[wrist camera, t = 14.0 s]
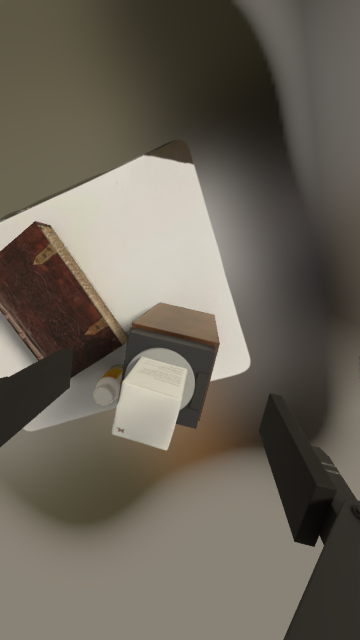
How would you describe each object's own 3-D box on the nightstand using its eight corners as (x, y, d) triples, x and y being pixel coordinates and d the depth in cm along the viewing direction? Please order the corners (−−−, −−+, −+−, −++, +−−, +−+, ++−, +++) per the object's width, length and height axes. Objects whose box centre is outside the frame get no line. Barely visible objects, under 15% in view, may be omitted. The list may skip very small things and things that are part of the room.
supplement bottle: (104, 373, 57) (83, 394, 47) (119, 360, 56) (102, 378, 46) (119, 390, 57) (102, 414, 48) (135, 377, 56) (121, 399, 47)
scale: (215, 345, 32) (216, 354, 29) (196, 417, 34) (195, 431, 31) (134, 327, 32) (127, 333, 29) (122, 398, 35) (114, 411, 32)
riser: (214, 314, 51) (219, 343, 32) (201, 366, 54) (199, 421, 34) (159, 302, 52) (132, 322, 32) (149, 353, 55) (118, 401, 35)
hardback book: (-9, 275, 55) (-30, 275, 50) (51, 225, 51) (35, 221, 46) (68, 377, 58) (55, 387, 53) (129, 338, 54) (122, 345, 49)
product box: (176, 410, 31) (167, 453, 24) (130, 397, 31) (108, 435, 24) (188, 368, 30) (183, 399, 22) (141, 354, 30) (120, 381, 23)
